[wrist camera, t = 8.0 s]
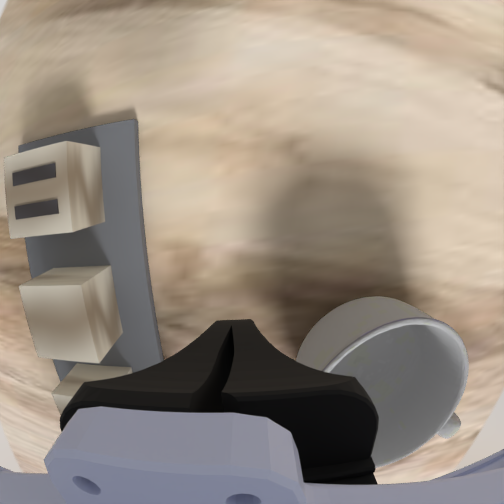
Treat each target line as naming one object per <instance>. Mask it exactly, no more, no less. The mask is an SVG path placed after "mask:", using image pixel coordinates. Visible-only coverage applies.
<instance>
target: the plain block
mask: <svg viewBox="0 0 504 504" xmlns="http://www.w3.org/2000/svg"><path fill="white" fill-rule="evenodd" d="M19 289H20V293H21V298H22V302H23V306H24V310H25V314H26V318H27V322H28V325H29V329H30V332H31V336H32V339H33V342H34V346H35V349H36V352H37V355H38V357H40V358H49V359H57V360H67V361H77V362H88V363H100V362H101V361H102V359H103V358H104V357H105V355H106V354H107V353H108V351H109V350H110V349H111V347H112V346H113V345H114V343H115V342H116V341H117V340H118V338H119V337H120V336H121V334H122V333H123V330H122V325H121V320H120V315H119V310H118V305H117V299H116V294H115V288H114V282H113V275H112V269H111V265H107V266H86V267H65V268H53V269H51V270H49V271H47V272H45V273H43V274H41V275H39V276H37V277H35V278H33V279H31V280H29V281H27V282H26V283H24V284H22V285H20V286H19Z"/></svg>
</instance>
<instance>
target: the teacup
mask: <svg viewBox="0 0 504 504" xmlns="http://www.w3.org/2000/svg"><path fill="white" fill-rule="evenodd" d="M296 361H297V362H299V363H301V364H303V365H306V366H308V367H311V368H314V369H317V370H320V371H324V372H327V373H332V374H338V375H345V376H352V377H356V379H357V380H358V382H359V383H360V384H361V385H362V387H363V388H364V389H365V391H366V392H367V394H368V395H369V396H370V398H371V400H372V402H373V404H374V406H375V408H376V410H377V413H378V416H379V424H378V431H377V435H376V439H375V443H374V447H373V451H372V455H371V457H372V459H373V462H374V464H375V468H377V467H381V466H385V465H388V464H391V463H393V462H396V461H398V460H400V459H402V458H404V457H406V456H408V455H410V454H411V453H413V452H414V451H416V450H417V449H419V448H420V447H421V446H423V445H424V444H425V443H426V442H427V441H429V440H430V439H431V438H433V437H434V435H435V434H438V435H439V436H440V437H443V438H450V437H452V436H453V435H454V434H455V433H456V432H457V431H458V429H459V428H460V426H461V421H460V419H459V417H458V416H457V415H456V414H455V413H454V411H455V409H456V407H457V405H458V404H459V402H460V400H461V397H462V395H463V393H464V390H465V387H466V383H467V377H468V355H467V351H466V348H465V346H464V343H463V341H462V339H461V337H460V336H459V335H458V333H457V332H456V331H455V330H454V329H453V328H452V327H450V326H449V325H447V324H446V323H444V322H442V321H439V320H436V319H434V318H432V317H431V316H429V315H427V314H426V313H424V312H422V311H421V310H419V309H417V308H415V307H413V306H411V305H409V304H407V303H405V302H403V301H400V300H397V299H394V298H389V297H381V296H373V297H363V298H359V299H355V300H352V301H349V302H347V303H344V304H342V305H340V306H338V307H337V308H335V309H333V310H332V311H331V312H329V313H328V314H326V315H325V316H324V317H323V318H321V319H320V320H319V321H318V322H317V323H316V324H315V325H314V327H313V328H312V329H311V330H310V331H309V333H308V334H307V336H306V337H305V339H304V341H303V343H302V345H301V347H300V349H299V352H298V354H297V358H296Z"/></svg>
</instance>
